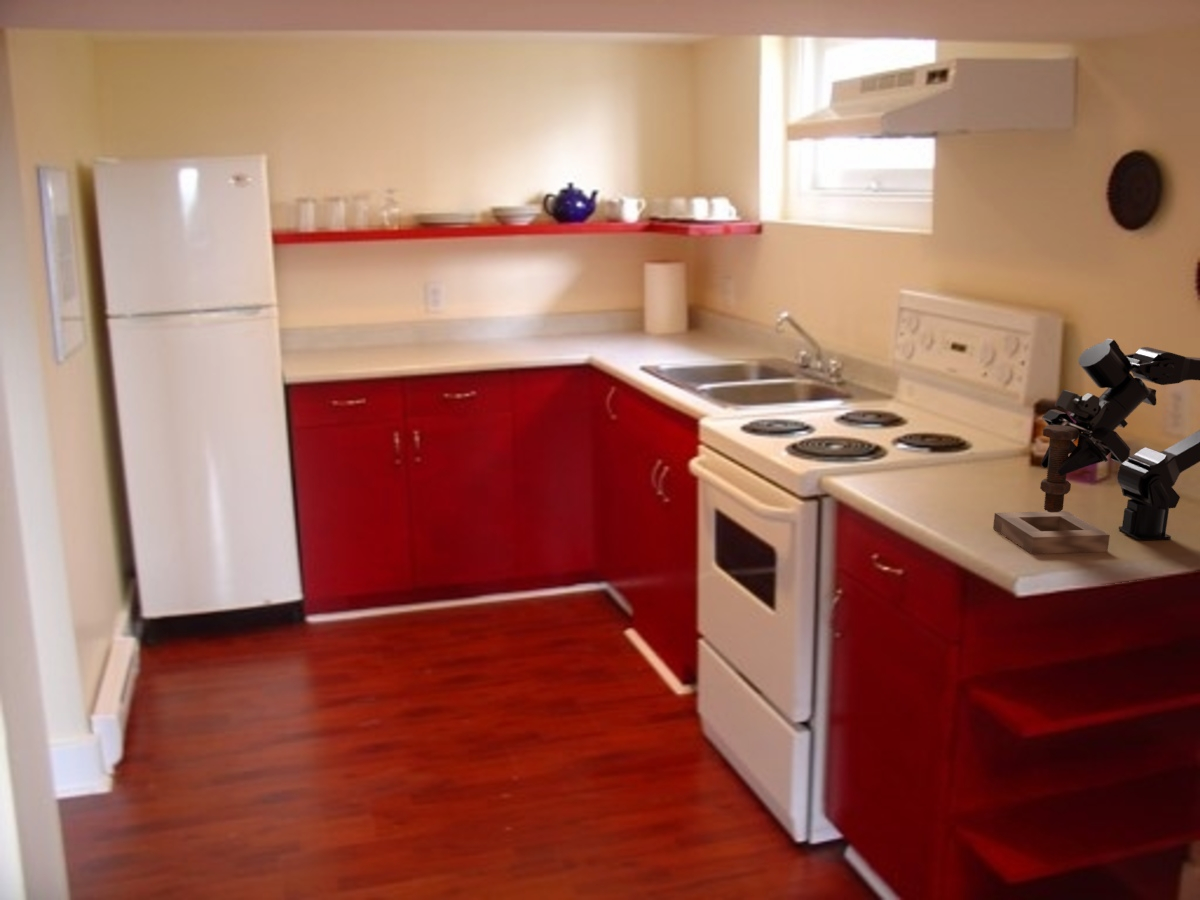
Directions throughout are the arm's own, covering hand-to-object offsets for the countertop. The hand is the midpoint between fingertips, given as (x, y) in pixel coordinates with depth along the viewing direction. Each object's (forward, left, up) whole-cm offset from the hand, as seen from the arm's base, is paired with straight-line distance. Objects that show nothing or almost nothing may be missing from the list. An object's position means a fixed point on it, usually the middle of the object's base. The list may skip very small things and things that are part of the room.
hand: (1050, 469), depth 201 cm
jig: (-1, 0, -13) cm, 13 cm away
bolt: (-1, 0, -8) cm, 8 cm away
